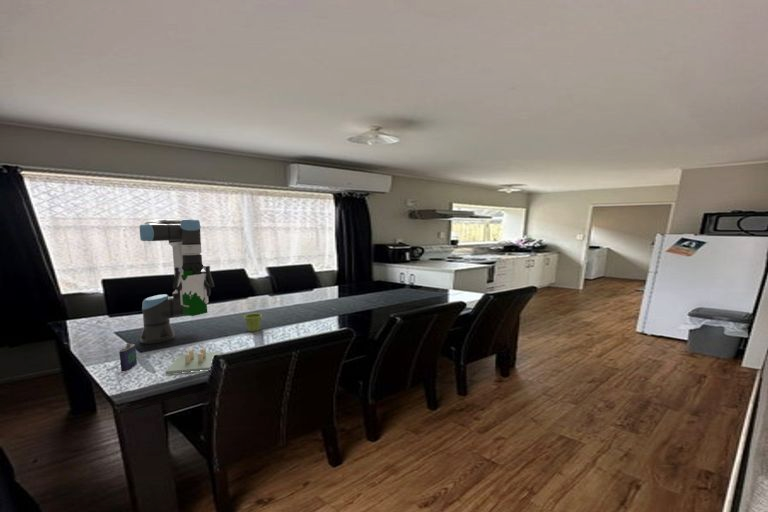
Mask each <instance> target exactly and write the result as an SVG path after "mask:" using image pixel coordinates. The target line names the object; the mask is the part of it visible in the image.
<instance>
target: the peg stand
mask: <svg viewBox="0 0 768 512" xmlns="http://www.w3.org/2000/svg"><path fill="white" fill-rule="evenodd" d="M187 351H188V352H187V353H185V354H179V355H178V357H176V359H175V360H174V361H173V362H172V364H171V365H170V366H169V367H168V368H167V369H166V370H165V375H166V374H171V375H174V374H173V373H181V374H183V373H182V372H191V371H200V370H208V371H207V372H210V371H209V369H210V365H211V361H212V357H213V356H214V355H216V354H221V353H222V354H223V351H212V352H210V351H209V352H207V349H206V348H201V349H200V352H199V353H195V352H194V351H195V350H194V349H188V350H187Z"/></svg>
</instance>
